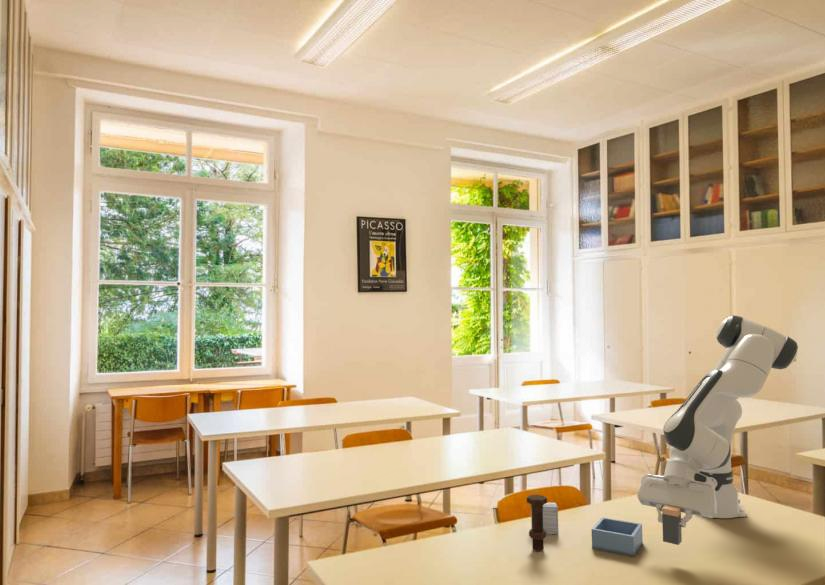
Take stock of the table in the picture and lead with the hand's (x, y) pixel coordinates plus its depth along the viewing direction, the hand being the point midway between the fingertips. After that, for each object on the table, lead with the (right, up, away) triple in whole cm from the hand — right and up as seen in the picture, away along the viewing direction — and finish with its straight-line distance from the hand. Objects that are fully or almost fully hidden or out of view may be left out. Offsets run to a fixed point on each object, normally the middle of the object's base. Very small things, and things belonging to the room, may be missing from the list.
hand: (671, 523), depth 160 cm
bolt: (-34, -12, +10) cm, 37 cm away
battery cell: (0, -5, 0) cm, 5 cm away
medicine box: (-29, -12, +23) cm, 39 cm away
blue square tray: (-11, -11, +12) cm, 19 cm away
